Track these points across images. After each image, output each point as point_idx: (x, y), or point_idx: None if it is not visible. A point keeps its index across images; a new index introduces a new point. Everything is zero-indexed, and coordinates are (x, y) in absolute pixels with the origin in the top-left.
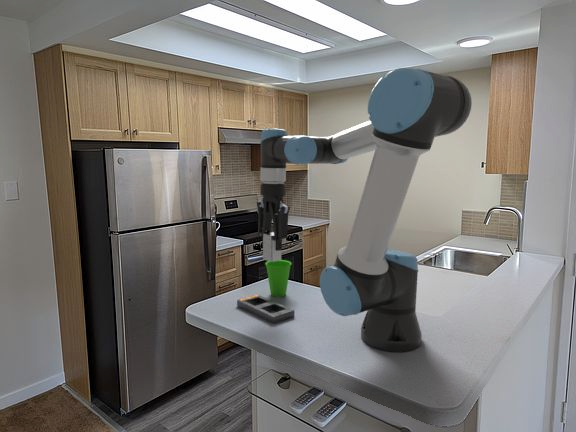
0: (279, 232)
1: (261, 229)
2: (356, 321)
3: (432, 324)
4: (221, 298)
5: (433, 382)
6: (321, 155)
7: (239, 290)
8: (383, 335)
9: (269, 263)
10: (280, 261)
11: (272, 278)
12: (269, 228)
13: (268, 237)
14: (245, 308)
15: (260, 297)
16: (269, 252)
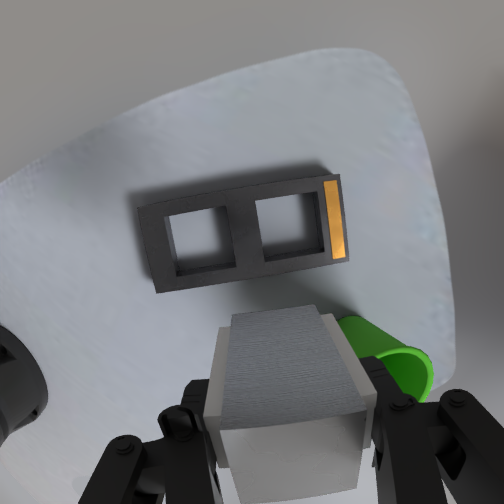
0: (113, 480)
1: (448, 427)
2: (79, 385)
3: (43, 453)
4: (416, 166)
5: None
6: None
7: (442, 248)
8: None
9: (424, 370)
10: None
11: (358, 338)
12: (379, 489)
13: (268, 409)
14: (287, 180)
15: (318, 256)
16: (249, 340)
